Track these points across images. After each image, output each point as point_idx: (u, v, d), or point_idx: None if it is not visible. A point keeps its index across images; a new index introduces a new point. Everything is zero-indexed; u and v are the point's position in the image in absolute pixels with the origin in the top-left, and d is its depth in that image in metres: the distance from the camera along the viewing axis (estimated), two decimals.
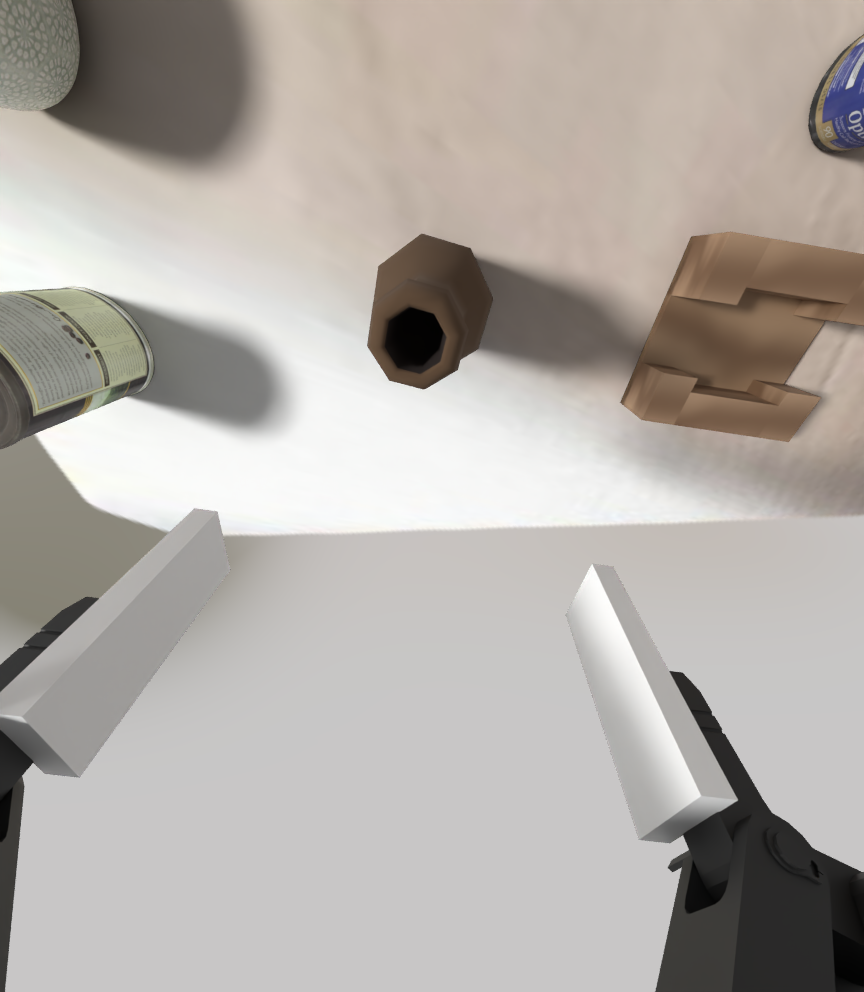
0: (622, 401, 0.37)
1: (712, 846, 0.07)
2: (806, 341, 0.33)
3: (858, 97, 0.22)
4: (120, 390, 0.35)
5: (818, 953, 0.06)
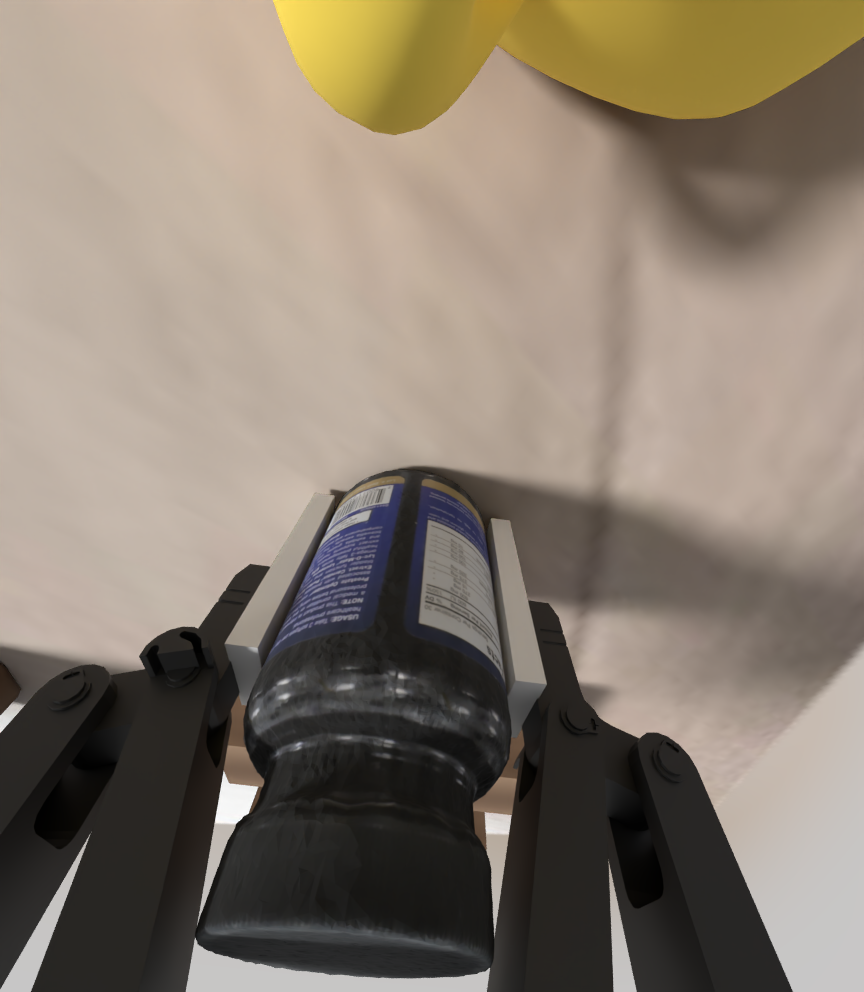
0: None
1: (532, 738, 0.09)
2: None
3: None
4: None
5: (595, 789, 0.07)
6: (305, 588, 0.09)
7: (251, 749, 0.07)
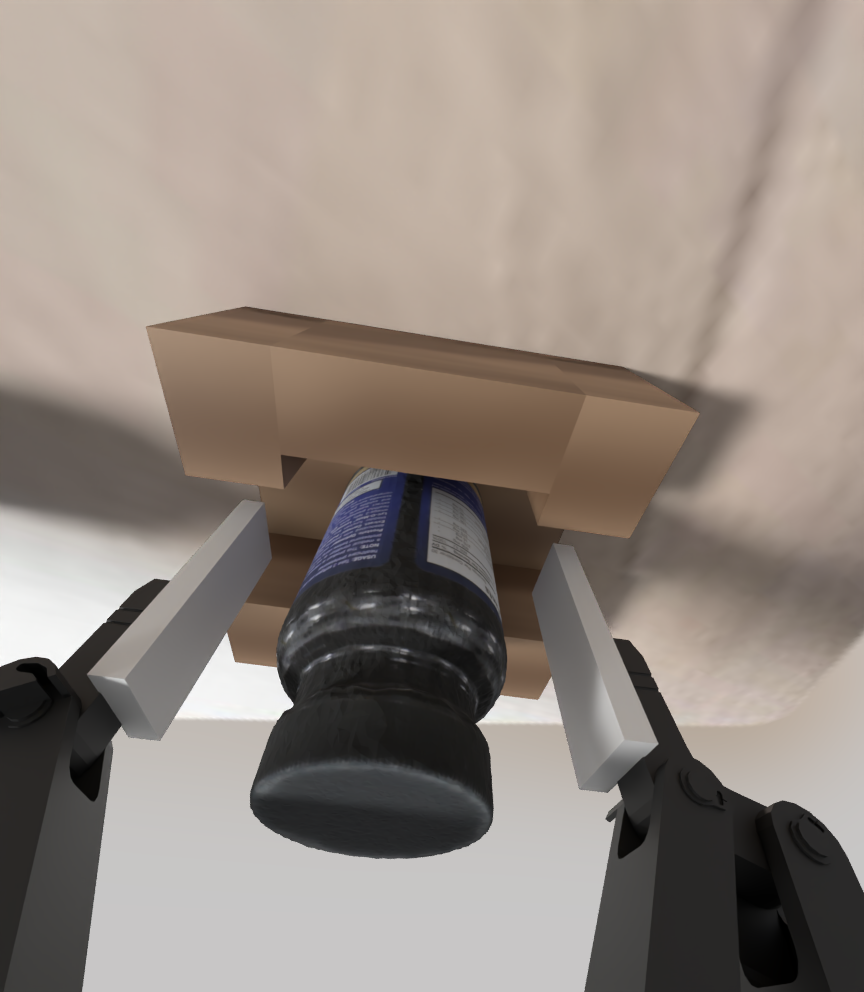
0: None
1: (638, 793, 0.08)
2: None
3: None
4: None
5: (723, 872, 0.06)
6: (326, 543, 0.11)
7: (285, 670, 0.09)
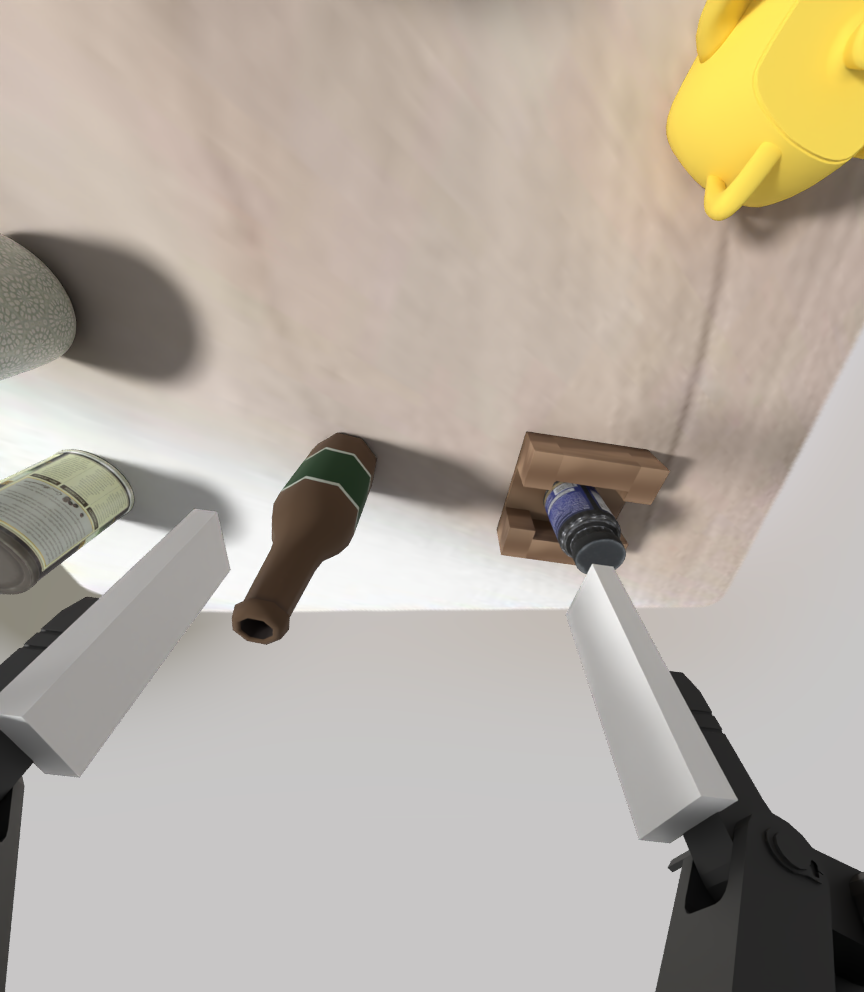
0: (497, 529, 0.47)
1: (712, 846, 0.07)
2: None
3: None
4: (107, 525, 0.45)
5: (818, 953, 0.06)
6: (565, 506, 0.38)
7: (568, 534, 0.36)
